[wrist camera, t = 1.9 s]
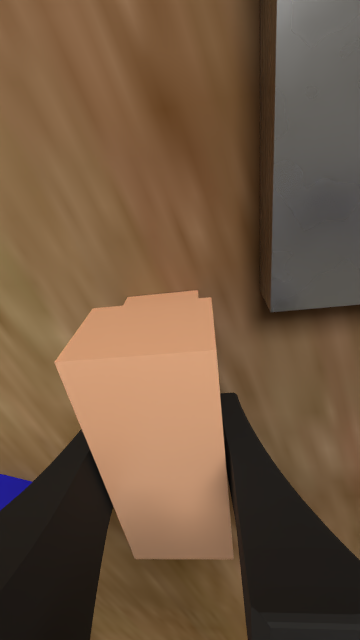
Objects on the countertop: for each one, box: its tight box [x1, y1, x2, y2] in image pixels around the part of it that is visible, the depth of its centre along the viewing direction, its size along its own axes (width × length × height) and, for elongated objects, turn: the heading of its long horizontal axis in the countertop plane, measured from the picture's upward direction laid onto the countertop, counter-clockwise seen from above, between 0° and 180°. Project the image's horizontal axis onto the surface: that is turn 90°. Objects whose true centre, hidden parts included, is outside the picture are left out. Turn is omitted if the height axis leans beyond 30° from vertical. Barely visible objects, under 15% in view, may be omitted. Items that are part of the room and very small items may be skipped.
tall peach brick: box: [55, 290, 234, 559], centre depth 12 cm, size 4×10×6 cm, turn 7°
